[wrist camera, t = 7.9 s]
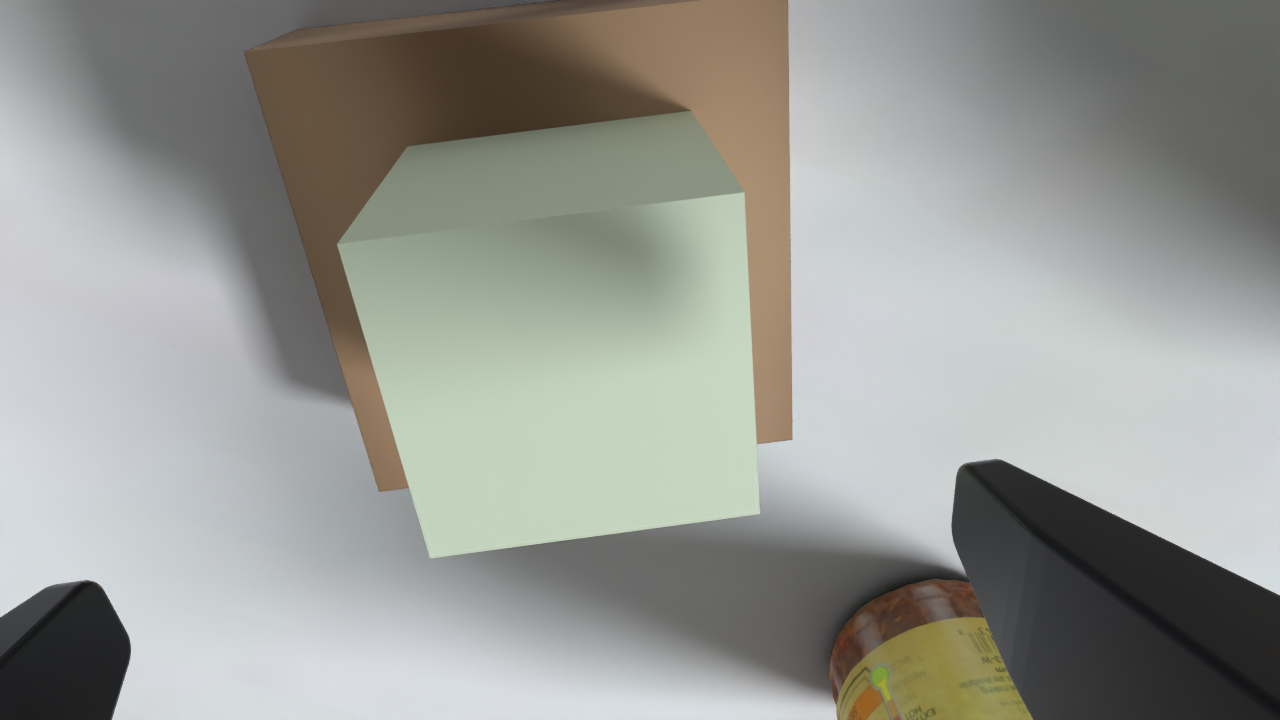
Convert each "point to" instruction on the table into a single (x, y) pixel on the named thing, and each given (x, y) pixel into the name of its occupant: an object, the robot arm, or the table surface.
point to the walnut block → (525, 101)
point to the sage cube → (562, 331)
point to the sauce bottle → (922, 659)
